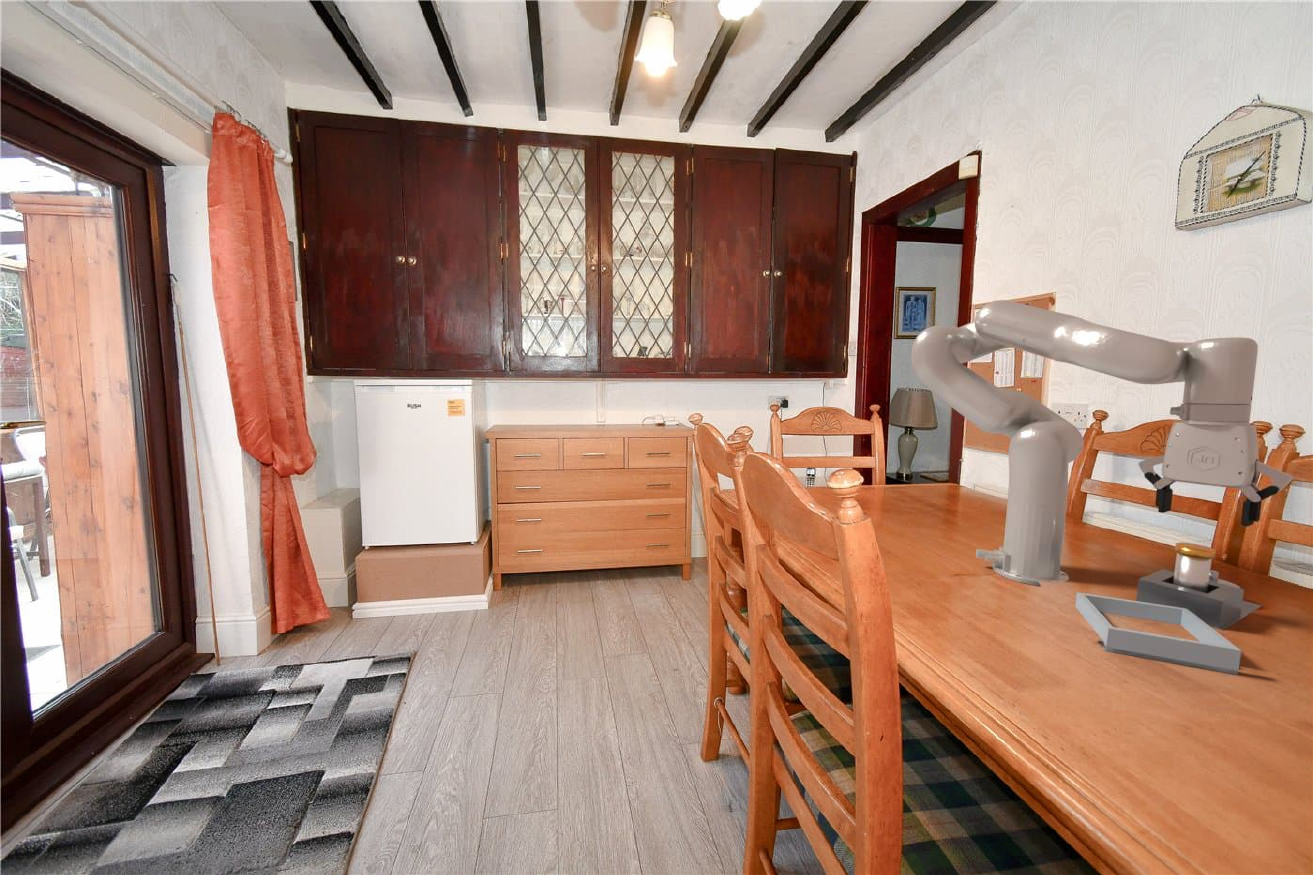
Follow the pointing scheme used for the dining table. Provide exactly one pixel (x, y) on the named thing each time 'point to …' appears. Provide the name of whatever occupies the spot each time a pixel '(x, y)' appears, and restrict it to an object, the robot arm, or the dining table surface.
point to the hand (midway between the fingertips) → (1203, 517)
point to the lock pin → (1193, 566)
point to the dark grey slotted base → (1198, 598)
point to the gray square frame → (1200, 654)
